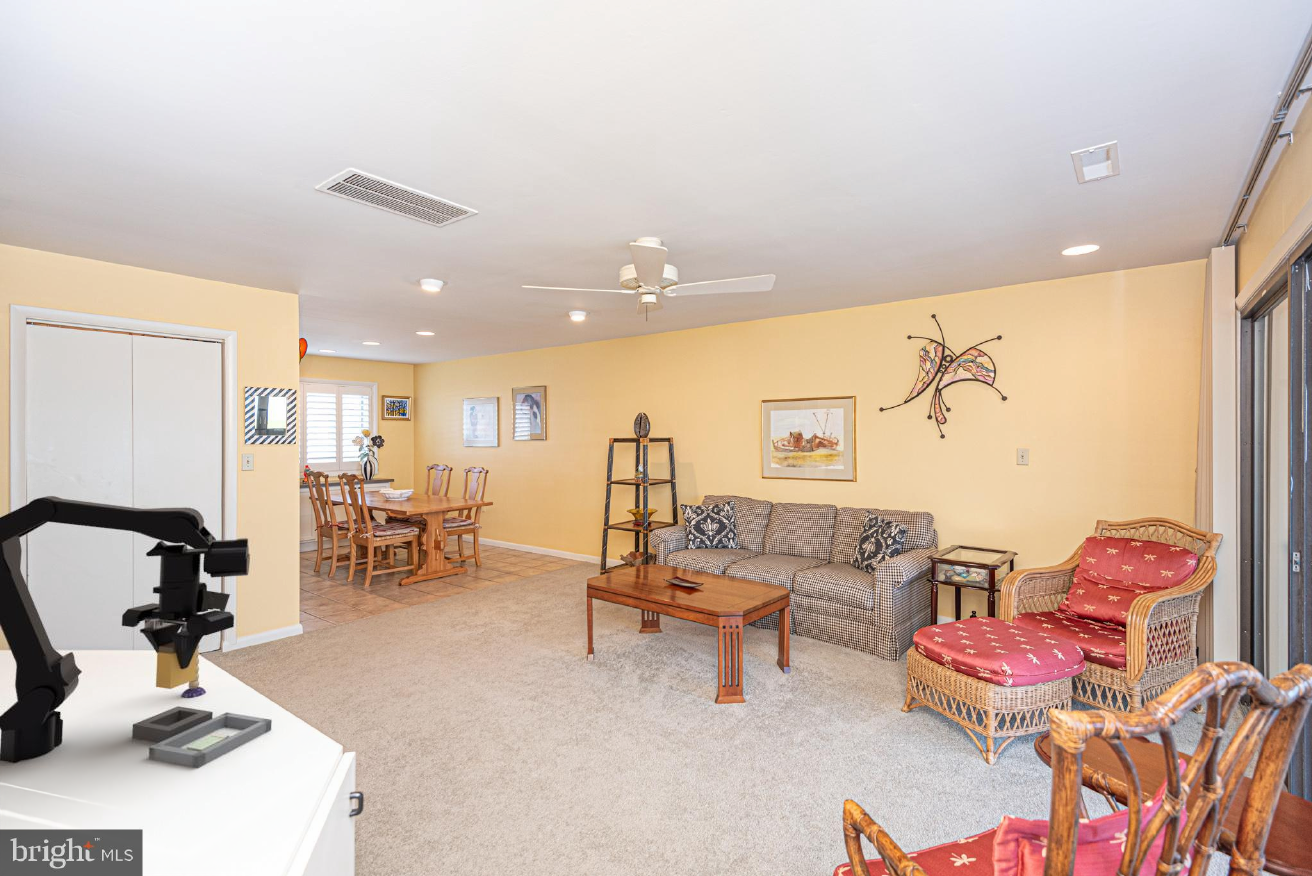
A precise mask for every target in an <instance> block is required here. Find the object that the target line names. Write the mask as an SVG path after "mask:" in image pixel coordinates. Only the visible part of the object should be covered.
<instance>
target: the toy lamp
mask: <svg viewBox="0 0 1312 876" xmlns="http://www.w3.org/2000/svg"><path fill="white" fill-rule="evenodd" d="M199 614H200V613H197V615H199ZM184 619H185V618H184ZM183 628H184V625H182V627H181V628H180V630H179V632H181V631H183ZM199 649H200V645H199V644H198V646H197V654H196V679H195V680H193V681H191V682H188V688H187V689H185V690H184V691H183V692H182V693H181V696H180V697H181V698H183V699H191V698H197V697H201V696H204V695H205V694H206V692H207V691H206V690H205V689H204V687H201V686H200V681H199V679H200V678H199V677H200V674H199V671H200V667H199V664H200V659H199V655H200V652H199Z"/></svg>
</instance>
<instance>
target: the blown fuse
mask: <svg viewBox="0 0 1312 876" xmlns="http://www.w3.org/2000/svg"><path fill="white" fill-rule="evenodd" d="M156 654H157V655H156V678H155V681H156V682H155V687H156V688H159V689H161V688H162V689H167V690H168V689H169V690H172V689H175V688H177V687H180V686H183V685H185V684H187V683H188V684H189V682H191V681H193V680H195V679H196V654H197V648H196V650H195V653H194V655H193V657H192V659H191V662H190V664H189V666H188V667H187V668H185V669H181V668H180V665H179V662H178V658H177V654H176V650H175V645H174V642H172V643H169V644H166V645H162V646H159V652H157V653H156Z"/></svg>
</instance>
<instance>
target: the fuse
mask: <svg viewBox="0 0 1312 876" xmlns="http://www.w3.org/2000/svg"><path fill="white" fill-rule="evenodd" d="M228 737H230V735H229V734H224V733H220V732H215V733H213V734H210V735H209V736H207V737H205V738H203V739H201V740H198V741H197V742H196V741H195V743H194V742H193V743H192V744H191V745H188V746H186V749H187V750H193V751H198V752H200V751H202V750H204V749H206V748H208V747H210V746H212V745H214V744H216V743H218V742H220V741H222V740H224V739H226V738H228Z"/></svg>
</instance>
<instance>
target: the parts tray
mask: <svg viewBox="0 0 1312 876" xmlns="http://www.w3.org/2000/svg"><path fill="white" fill-rule="evenodd" d="M272 722H273V720H272V719H271V718H270V719H269V718H264V717H257V716H252V715H246V714H239V713H233V712H224V713H222V714H220V715H218V716H216V717H212V719H211V720H209V721H206V722H204V723H202V724H200V725H197V726H195V727H193V728H191V729H189V730H186V731H184V732H182V733H180V734H177V735H175V736H173V737H171V738H169V739H166V740H164V741H162V742H160V743H155V744H153V745H151V746H149V747H148V760H152V761H153V760H154V761H159V762H163V763H168V764H175V765H180V766H186V767H191V768H194V769H195V768H196V769H199V768H201V767H203V766H205V765H207V764H209V763H211V762H212V761H214V760H217V759H218V758H220V757H222V756H224V755H226V754H228V753H230V752H232V751H234V750H235V749H238V748H239V747H241V746H243V745H246V744H248V743H249V742H251V741H252V740H254V739H257V738H258V737H261V736H262V735H264V734H266V733H268V732H270V731H271V730H272ZM225 727H228V728H234V729H239V730H240V731H239V732H237V733H235V734H233V735H229V737H228V738H226V739H224V740H222V741H220V742H218V743H216V744H214V745H212V746H210V747H208V748H206V749H204V750H202V751H200V752H198V751H193V750H187V748H182V747H184V746H186V745H189V744H190V743H194V742H196V741H197V740H200V739H201V738H204V737H206V736H208V735H211V734H212V733H214V732H216V731H218V730H221V729H222V728H225Z"/></svg>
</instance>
